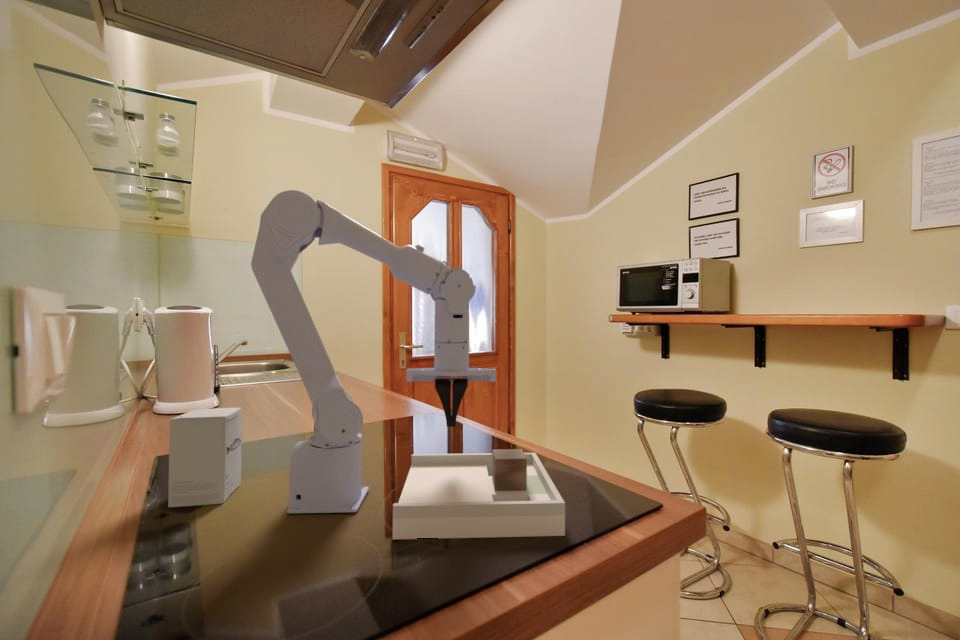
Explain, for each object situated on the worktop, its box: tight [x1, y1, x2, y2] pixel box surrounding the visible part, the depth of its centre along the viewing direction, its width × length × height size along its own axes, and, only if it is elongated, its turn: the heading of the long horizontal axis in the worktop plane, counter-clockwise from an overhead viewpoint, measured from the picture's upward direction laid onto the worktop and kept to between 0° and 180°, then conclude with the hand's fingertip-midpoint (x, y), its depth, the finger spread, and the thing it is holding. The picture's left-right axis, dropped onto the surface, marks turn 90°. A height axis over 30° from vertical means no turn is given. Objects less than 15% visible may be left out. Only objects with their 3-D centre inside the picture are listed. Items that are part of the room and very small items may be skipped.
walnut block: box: [491, 448, 527, 491], centre depth 60 cm, size 4×4×4 cm
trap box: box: [392, 452, 566, 540], centre depth 60 cm, size 21×20×4 cm
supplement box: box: [167, 407, 243, 508], centre depth 62 cm, size 7×7×13 cm
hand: (451, 425), depth 68 cm, fingers closed
